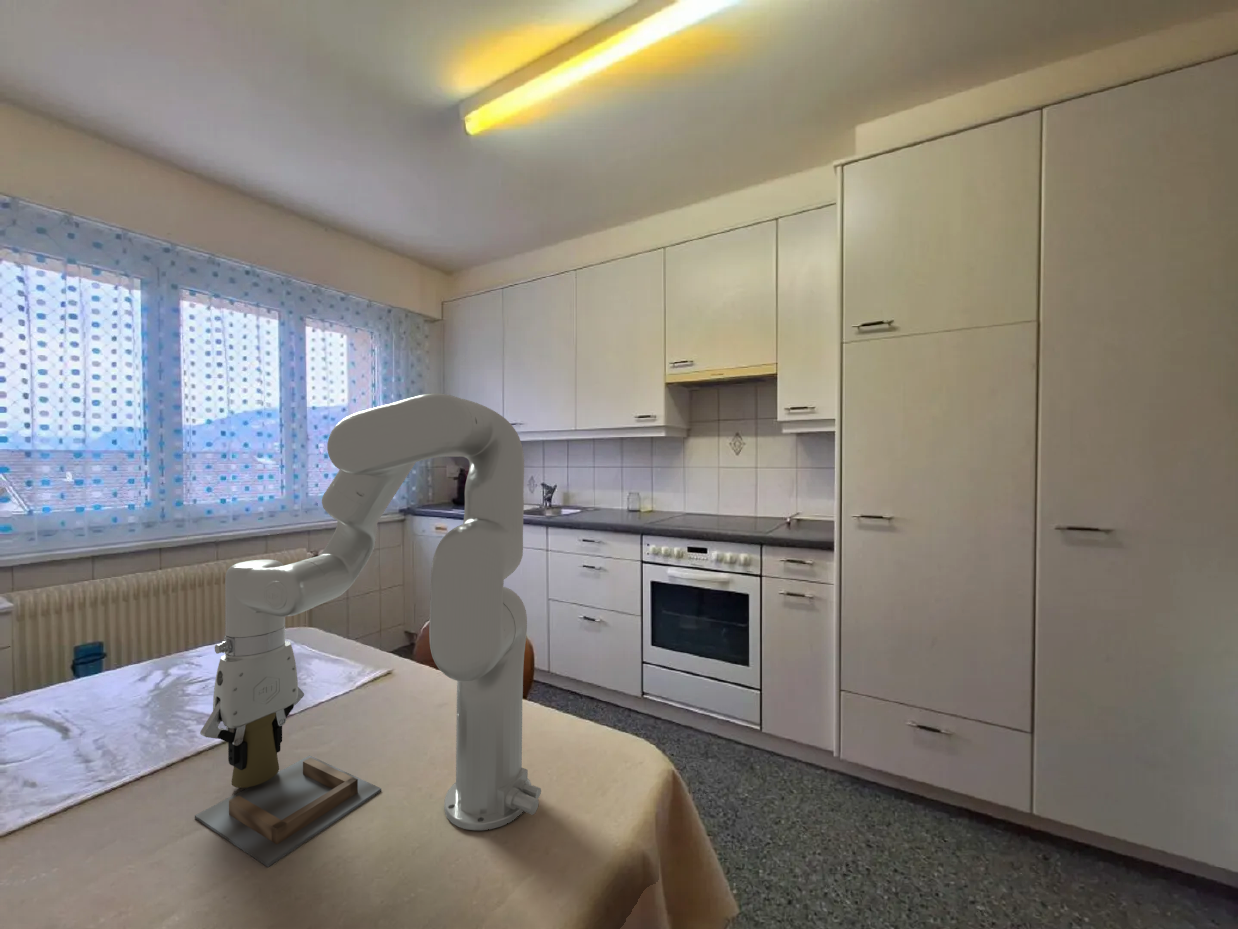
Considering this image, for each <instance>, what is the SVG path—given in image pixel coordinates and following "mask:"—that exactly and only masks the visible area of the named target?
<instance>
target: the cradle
mask: <svg viewBox="0 0 1238 929" xmlns="http://www.w3.org/2000/svg"><path fill="white" fill-rule="evenodd" d="M380 791H381V792H382V788H381V787H380V786H377V785H375V784H372V783H370V782H368V781H367V780H364V779H362V778H359V777H357V776H356V775H353V774H351V773H349V772H347V771H344V770H342V769H340V768H338V767H336V766H333V765H332V764H330V763H328V762H324V761H322V760H320V759H318V758H316V757H315V756H312V755H308V756H306V757H304V758H302V759H300V760H298V761H296V762H293V764H291V765H289V766H287V767H285V768H283V769H280V770H279V771H278V773H277V774H276V775H275V776H274V777H272V778H271V779H269V780H267V781H265V782H263V783H261V784H258V785H255V786H251V787H246V788H243V789H242V790H240V791H239V792H237V793H235V794H233V795H231V796H229V797H227V798H225V799H223V800H222V801H220V802H218V803H216V804H214V805H212V806H211V807H208V808H206V809H205V810H202V811H201V812H199V813H197V814H195V815H194V819H195V820H197V821H198V822H199V823H201V824H202V825H204V826H205V827H207V828H209V829H210V830H212V831H213V832H215V833H216V834H217V835H219V836H220V837H222V838H223V839H225V840H227V841H228V842H230V843H231V844H232V845H234V846H235V847H237V848H239V849H240V850H242V851H243V852H244V853H246V854H247V855H249V856H250V857H251V858H253V859H254V860H257V862H259V863H261V864H262V865H264V866H265V867H267V868H268V867H270V866H272V865H273V864H275V863H276V862H278V861H279V860H281V859H282V858H284V857H285V856H286V855H288V854H289V853H291V852H294V850H296V849H297V848H298V847H300V846H302V845H303V844H305V843H306V842H307V841H309V840H310V839H312V838H313V837H315V836H316V835H318V834H320V833H321V832H322V831H324V830H326V829H327V828H328V827H330V826H331V825H333V824H335V823H336V822H338V821H339V820H340V819H342V818H344V817H345V816H346V815H347V814H349V813H351V812H353V810H354V811H355V809H357V808H358V807H359V806H360V807H361V805H363V804H364V803H367V801H369V800H370V799H372V798H373V797H374V796H376V795H378V794H379V793H381V792H380ZM377 793H378V794H377ZM375 794H376V795H375ZM371 797H372V798H371Z"/></svg>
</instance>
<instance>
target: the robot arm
mask: <svg viewBox="0 0 1238 929" xmlns="http://www.w3.org/2000/svg"><path fill="white" fill-rule="evenodd" d="M326 447H327V453H328V457H329V460H330V461H331V463H332V464H333V465H334V466H335V467H336V469H338V472H337V473H336V475H335V476H334V478H333V479H332V481H331V483H330V484H329V486H328V487H327V489H326V490H325V491H324V493H323V496H322V497H321V506H322V508H323V509H324V510H325V512H326V513H327V514H328V515H329V516H330V517H332V518H333V519H334V520H335V521H337V524H336V528H335V530H334V533H333V534H332V536H331V537H330V539H329V541H328V542H327V544H326V546H325V547H324V549H323V550H322V551H321V553H320V554H319V555H317V556H314V557H310V558H306V559H302V560H299V561H296V562H292V563H288V564H285V565H284V564H283V562H281V561H280V560H275V559H256V560H254V559H253V560H246V561H240V562H237V563H235V564H233V565H231V566H229V568H227V569H226V572H225V578H224V580H225V581H224V582H225V584H224V585H225V587H224V589H225V593H224V594H225V595H224V599H225V600H224V602H225V605H224V606H225V612H224V614H225V615H224V616H225V617H224V618H225V619H224V620H225V622H224V624H225V633H224V634H225V635H223V641H221V642H220V643H218V644H215V645H214V652H215V653H216V654H221V653H223V654H224V655H221V656H220V659H219V662H218V666H217V670H216V675H215V681H214V686H213V688H214V689H213V698H212V701H213V702H212V711H211V714H210V715H209V716H208V718H207V720H206V722H205V723H204V725H203V727H202V728H201V730H200V733H199V734H200V735H201V736H203V737H205V738H208V739H209V738H210V739H218V740H222V741H223V742H226V743H227V745H228V746H227V747H228V750H227V751H228V752H227V753H228V757H227V758H228V764H229V765H230V766H232V767H233V768H234V767H236V768H238V769H240V770H243V769H245V768H246V764H247V742H245V741H243V737H244V732H245V725H246V724H249V723H251V722H254V721H256V720H258V719H261V718H263V717H265V716H268V715H270V714H273V713H275V712H276V716H275V719H274V720H273V722H272V727H273V733H274V740H275V748H276V753H277V754H278V753H279V752H281V744H282V742H283V726H284V725H285V724H286V723H287V722H286V721H287V717H288V716H290V713H291V712H292V710H294V708H295V706H297V704H298V703H300V701H301V700H302V699H303V698H304V697H305V693H304V691H303V690H302V689H301V688H300V687H299V682H298V681H299V680H298V673H297V672H298V671H297V665H296V664H297V663H296V658H295V653H294V648H293V645H292V643H291V641H288V640H286V617H292V616H296V615H299V614H302V613H304V612H306V611H309V610H311V609H314V608H316V607H318V606H320V605H322V604H324V603H327V602H329V601H332V600H335V599H336V598H339V597H340V596H342V595H343V594H344V593H345V592H347V591H348V590H349V589H350V588H351V586H353V584H354V583H355V582H356V580H357V578H358V577H359V576H360V573H362V571H363V569H364V568H365V567H366V565H367V564H368V562H369V560H370V558H371V556H372V554H373V552H374V549H375V547H376V546H375V545H376V541H377V535H378V522H379V521H380V520H381V517H382V516H383V514H384V513H385V512H386V509H387V508H388V506H389V505H390V503H391V502H392V500H393V498H394V497H395V495H396V494H397V492H398V490H399V489H401V488H400V487H401V486H402V485H403V483H404V482H405V480H406V479H407V477H408V475H409V474H410V473H411V471H412V469H413V468H414V466H415V465H416V463H417V462H420V461H426V460H430V459H435V458H440V457H445V458H446V457H450V458H451V457H452V458H454V457H459V458H460V457H463V458H465V459H467V460H468V463H469V469H468V473H467V477H466V481H465V485H464V512H463V522H462V524H460V525H458V526H455V527H454V528H452V529H451V530H450V531H448V532H447V533H446V534H445V535H444V536H443V537H442V539H440V541H439V542H438V544H437V547H436V549H435V551H434V554H433V558H432V563H431V570H430V571H431V572H430V573H431V574H430V575H431V576H430V601H429V602H430V603H429V605H430V606H429V630H428V631H429V633H428V634H429V647H430V649H429V650H430V652H431V657H432V659H433V661H434V664H435V665H436V667H437V668H438V669H439V671H440V673H442V674H443V675H444V676H445V677H448V678H450V679H451V680H453V681H456V726H455V727H456V729H455V730H456V735H455V736H456V739H455V742H456V743H455V749H456V750H455V752H456V753H455V782H454V783H453V784H452V785H451V786H450V788H449V789H448V790H447V792H446V794H445V797H444V804H443V807H444V808H443V809H444V814H445V816H446V818H447V819H448V821H450V823H451V824H453V825H454V826H456V827H459V828H461V829H463V830H468V831H487V830H488V829H489V830H493V829H497V828H501V827H503V826H505V825H507V823H508V824H509V823H511V822H513V821H515V820H516V819H517V818H518V817H517V816H519V815H520V814H521V813H522V812H523V811H524V812H523V813H526V814H529V815H532V816H533V815H534V814H536V812H537V810H538V807H539V798H540V797H541V793H542V788H541V787H539V786H536V785H532V783H531V780H530V779H529V776H528V775H529V774H528V769H527V768H524V767H523V695H524V693H523V692H524V686H523V685H524V665H525V664H524V661H525V651H526V641H527V632H528V616H527V615H528V614H527V610H526V605H525V604H524V602H523V599H522V598H521V597H520V596H519V595H518V594H517V593H516V592H515V591H514V590H512V589H510V588H508V587H506V586H504V582H505V581H504V580H506V579H507V578H508V577H509V576H511V575H512V574H513V573H514V572H515V571H516V570H517V568H518V567H520V564H521V562H522V558H523V554H524V514H525V512H524V507H525V506H524V504H525V502H524V501H525V500H524V498H525V497H524V488H525V487H524V486H525V484H524V480H525V454H524V449H523V444H522V441H521V438H520V436H519V434H518V432H517V430H516V429H515V427H514V426H513V425H512V423H511V422H509V421H508V420H507V419H506V418H505V417H504V416H503V415H501V414H500V413H498V412H497V411H495V410H493V409H491V408H489V407H487V406H484V405H483V404H480V403H478V402H475V401H472V400H469V399H464V398H461V397H457V396H455V395H451V394H447V393H438V392H437V393H436V392H435V393H431V392H430V393H426V394H420V395H415V396H413V397H409V398H404V399H401V400H398V401H394V402H391V403H387V404H384V405H379V406H376V407H375V406H374V407H372V408H368V409H364V410H361V411H357V412H355V413H353V414H350V415H347V416H346V417H344V418H343V419H341V420H340V421H338V423H337V424H335V426H334V427H333V428H332V430H331V431H330V434H329V436H328V440H327V446H326ZM221 723H222V724H223V726H224V727H226V728H223V727H219V726H220V724H221ZM523 813H522V814H523ZM522 814H521V815H522ZM521 815H520V816H521ZM520 816H519V817H520ZM516 817H517V818H516ZM515 818H516V819H515ZM514 819H515V820H514ZM512 820H513V821H512ZM489 830H488V831H489Z"/></svg>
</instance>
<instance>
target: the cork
mask: <svg viewBox="0 0 1238 929" xmlns="http://www.w3.org/2000/svg"><path fill="white" fill-rule="evenodd" d="M275 716H276V712H275V713H273V714H270V715H268V716H265V717H263V718H261V719H258V720H256V721H254V722H251V723H249V724H246V725H245V732H244V737H243V741H245V742H247V764H246V768H245V769H243V770H240V769H238V768H236V767H234V766H233V769H232V777H231V785H232V786H233V787H234V788H239V789H242V788H243V789H246V788H248V787H251V786H255V785H258V784H261V783H263V782H265V781H267V780H269V779H271V778H272V777H274V776H275V775H276V774H277V773H278V772H279V771H280V764H279V759H278V753H276V748H275V740H274V733H273V727H272V722H273V720H274V719H275Z"/></svg>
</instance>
